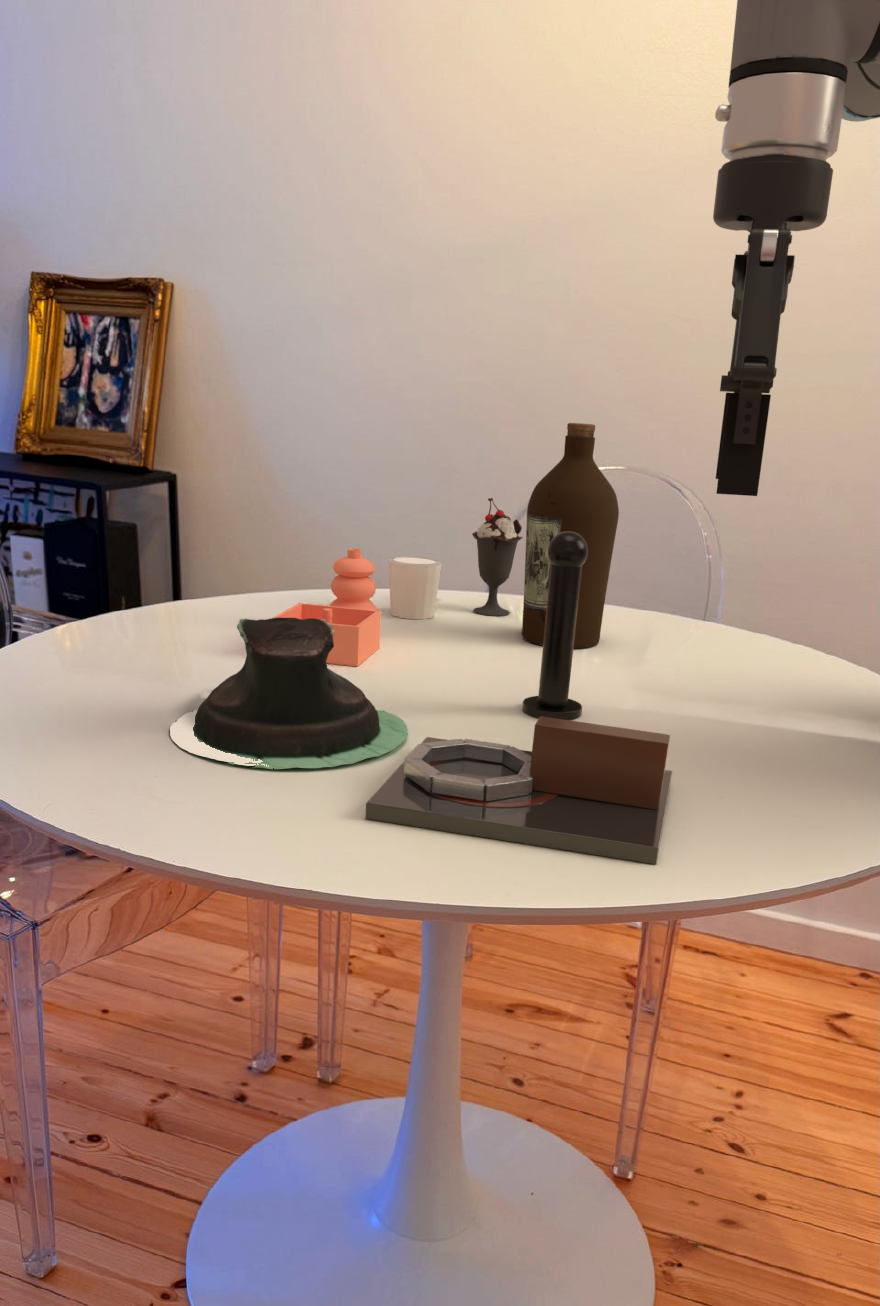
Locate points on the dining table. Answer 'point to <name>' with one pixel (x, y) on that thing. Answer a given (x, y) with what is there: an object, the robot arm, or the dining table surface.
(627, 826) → the stove
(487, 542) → the sundae
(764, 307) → the robot arm
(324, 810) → the dining table surface
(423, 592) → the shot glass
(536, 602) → the olive oil
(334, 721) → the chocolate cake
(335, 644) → the pottery
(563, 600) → the black knobbed post
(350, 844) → the dining table surface
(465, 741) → the ring with block handle
